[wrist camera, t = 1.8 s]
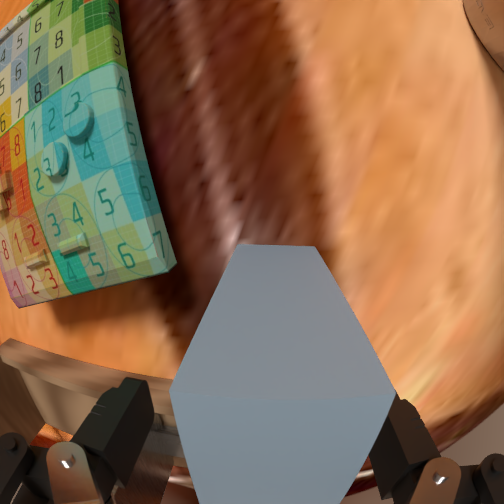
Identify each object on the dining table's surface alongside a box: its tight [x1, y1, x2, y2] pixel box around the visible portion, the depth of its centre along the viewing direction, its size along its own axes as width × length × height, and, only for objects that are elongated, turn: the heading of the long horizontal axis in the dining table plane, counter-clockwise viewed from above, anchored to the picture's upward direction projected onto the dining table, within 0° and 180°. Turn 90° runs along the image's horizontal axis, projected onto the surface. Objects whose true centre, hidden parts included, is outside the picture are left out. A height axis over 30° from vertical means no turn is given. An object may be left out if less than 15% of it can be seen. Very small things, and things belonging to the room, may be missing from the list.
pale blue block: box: [169, 244, 396, 504], centre depth 11 cm, size 4×8×11 cm, turn 179°
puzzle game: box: [0, 0, 177, 308], centre depth 12 cm, size 12×5×20 cm
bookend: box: [112, 413, 185, 504], centre depth 13 cm, size 11×8×9 cm
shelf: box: [0, 338, 188, 468], centre depth 14 cm, size 27×10×11 cm, turn 89°
